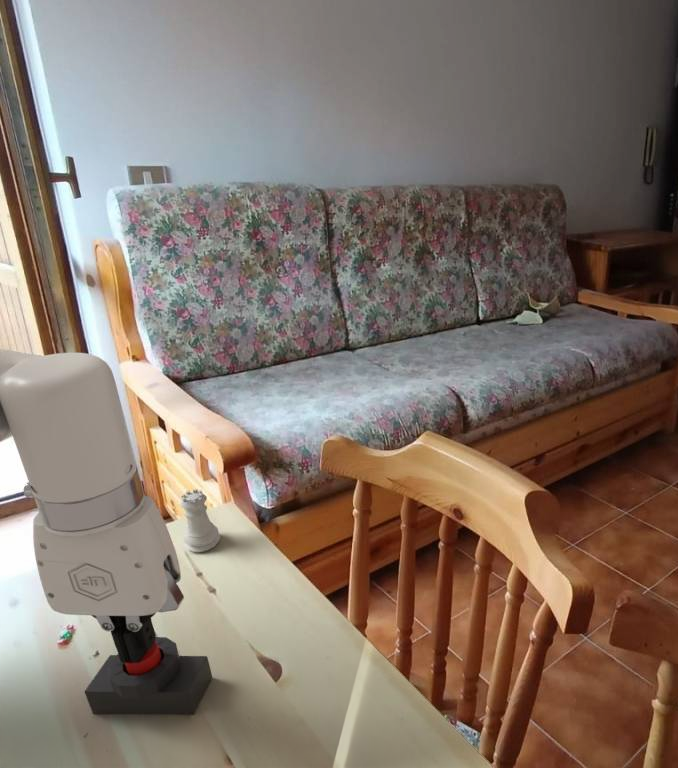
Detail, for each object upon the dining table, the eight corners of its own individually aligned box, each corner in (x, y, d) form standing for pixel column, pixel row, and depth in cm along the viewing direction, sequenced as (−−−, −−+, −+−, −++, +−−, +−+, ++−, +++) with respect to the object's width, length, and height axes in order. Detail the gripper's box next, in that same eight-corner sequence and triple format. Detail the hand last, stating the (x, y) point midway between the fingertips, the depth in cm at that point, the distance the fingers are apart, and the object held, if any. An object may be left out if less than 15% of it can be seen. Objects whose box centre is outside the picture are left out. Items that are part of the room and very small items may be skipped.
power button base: (87, 721, 62) (73, 685, 59) (121, 670, 67) (109, 636, 65) (190, 722, 62) (180, 686, 60) (215, 671, 67) (207, 637, 65)
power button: (121, 676, 61) (116, 663, 60) (137, 651, 64) (133, 638, 63) (152, 676, 61) (148, 663, 60) (167, 651, 64) (163, 639, 63)
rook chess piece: (190, 558, 83) (178, 509, 79) (181, 541, 86) (169, 492, 83) (225, 545, 85) (214, 496, 82) (215, 528, 89) (204, 481, 85)
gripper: (-31, 520, 50) (35, 682, 58) (157, 525, 51) (198, 685, 58) (33, 469, 57) (85, 620, 65) (199, 473, 57) (230, 623, 65)
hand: (138, 650), depth 62 cm, fingers closed
